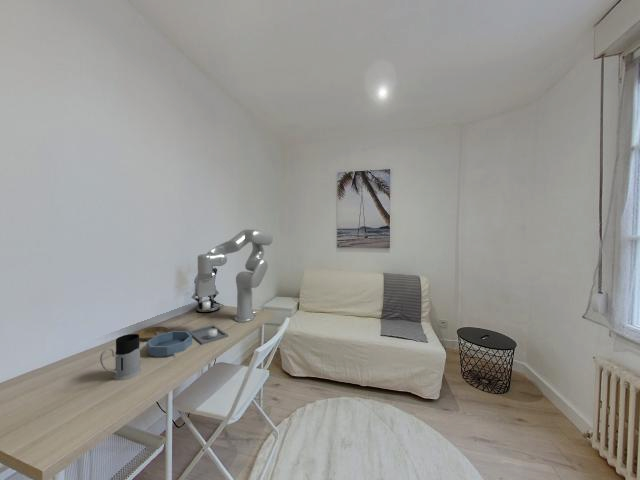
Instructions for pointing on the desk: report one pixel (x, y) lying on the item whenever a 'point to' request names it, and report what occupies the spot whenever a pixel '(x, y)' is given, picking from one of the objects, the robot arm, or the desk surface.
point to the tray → (202, 334)
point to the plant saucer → (150, 332)
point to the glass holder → (126, 357)
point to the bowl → (169, 343)
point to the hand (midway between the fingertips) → (205, 307)
